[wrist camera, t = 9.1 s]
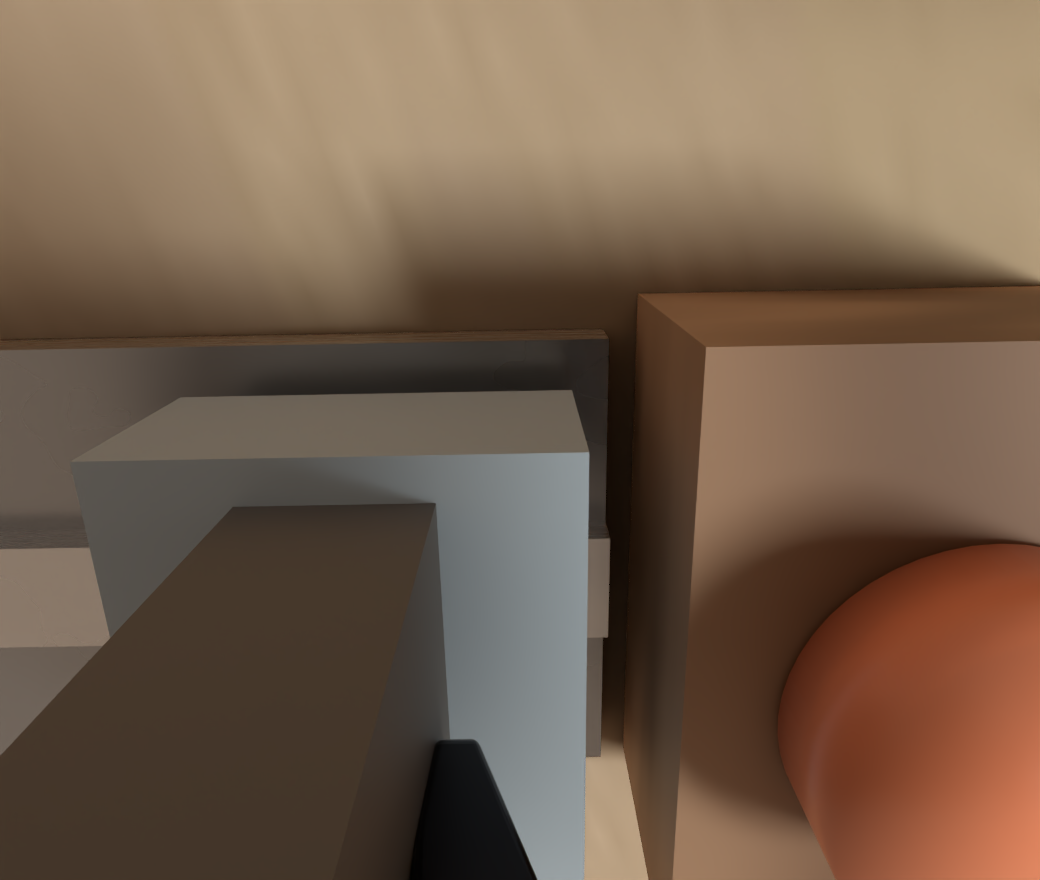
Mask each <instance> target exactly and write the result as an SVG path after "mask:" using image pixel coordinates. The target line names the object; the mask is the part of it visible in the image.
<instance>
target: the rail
mask: <svg viewBox="0 0 1040 880" xmlns="http://www.w3.org/2000/svg"><path fill="white" fill-rule="evenodd" d="M608 364H609V338H608V337H607V335H606V333H605V332H604V330H603V329H572V330H519V331H466V332H413V333H360V334H307V335H254V336H201V337H149V338H96V339H43V340H0V755H1V754H2V753H3V752H4V751H5V750H6V749H7V748H8V747H9V746H10V745H11V744H12V743H13V742H14V740H15V739H16V738H17V737H18V736H19V735H20V734H21V733H22V732H23V731H24V730H25V729H26V728H27V727H28V725H29V724H30V723H31V722H32V721H33V720H34V719H35V718H36V717H37V716H38V715H39V714H40V713H41V712H42V710H43V709H44V708H45V707H46V706H47V705H48V704H49V703H50V702H51V701H52V700H53V699H54V698H55V697H56V695H57V694H58V693H59V692H60V691H61V690H62V689H63V688H64V687H65V686H66V685H67V684H68V683H69V682H70V681H71V679H72V678H73V677H74V676H75V675H76V674H77V673H78V672H79V671H80V670H81V669H82V668H83V667H84V666H85V664H86V663H87V662H88V661H89V660H90V659H91V658H92V657H93V656H94V655H95V654H96V653H97V652H98V651H99V649H100V648H101V647H102V646H103V645H104V644H105V643H106V642H107V641H108V640H109V639H110V635H109V631H108V626H107V622H106V617H105V613H104V609H103V604H102V600H101V596H100V591H99V587H98V583H97V578H96V574H95V569H94V565H93V561H92V556H91V552H90V548H89V543H88V539H87V535H86V530H85V526H84V521H83V517H82V513H81V508H80V504H79V500H78V495H77V491H76V487H75V482H74V478H73V473H72V469H71V465H70V461H72V460H74V459H76V458H77V457H79V456H81V455H82V454H84V453H86V452H88V451H89V450H91V449H93V448H94V447H96V446H98V445H100V444H101V443H103V442H105V441H106V440H108V439H110V438H112V437H113V436H115V435H117V434H118V433H120V432H122V431H124V430H125V429H127V428H129V427H131V426H132V425H134V424H136V423H137V422H139V421H141V420H143V419H144V418H146V417H148V416H149V415H151V414H153V413H155V412H156V411H158V410H160V409H161V408H163V407H165V406H167V405H168V404H170V403H172V402H173V401H175V400H177V399H179V398H180V397H223V396H277V395H331V394H385V393H439V392H493V391H547V390H572V392H573V396H574V399H575V403H576V407H577V410H578V414H579V417H580V421H581V424H582V428H583V432H584V435H585V439H586V442H587V446H588V450H589V518H588V600H587V682H586V757H601V709H602V660H603V637H608V613H609V569H610V536H609V532H608V529H607V525H606V521H605V512H606V462H607V413H608Z"/></svg>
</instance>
